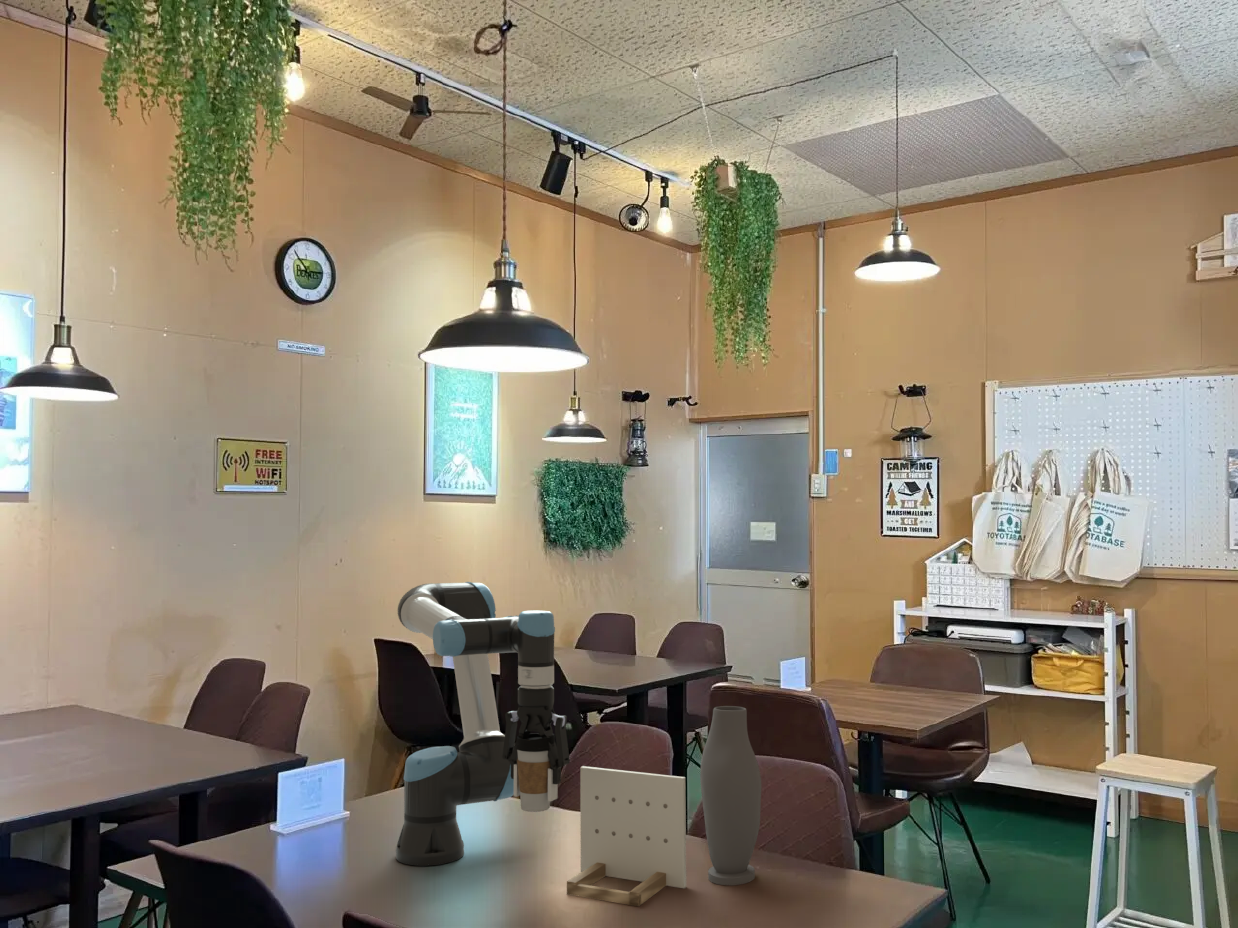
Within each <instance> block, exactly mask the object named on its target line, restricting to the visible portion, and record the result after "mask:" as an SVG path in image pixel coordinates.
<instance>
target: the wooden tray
mask: <svg viewBox="0 0 1238 928" xmlns="http://www.w3.org/2000/svg"><path fill="white" fill-rule="evenodd" d="M604 877H607V876H606V864H604V863H595V864H594V865H592V866H591V867H589V868H587V869H586V870H584V871H583V872H581V871H580V873H578V874H576V875H574V876H573V877H571V878H570V879H568V880H566V895H571V896H576V897H581V898H587V899H594V900H600V901H605V902H612V903H618V904H621V905H622V904H623V905H628V906H634V907H641V905H643V904H644V903H645V902H647V901H648V900H649V899H651V897H653V896H654V895H655V894H657V893H658V892H660V891H661V890H662V889H663V888H665V887H667V886H666V873H662V872H656V873H655V874H653V875H652V876H650V877H649V878H648V879H646V880H645V881H643V882H640V884H638V885H637V886H634V888H633V889H631V890H629V891H625V890H621V889H620V890H619V889H614V888H607V887H603V886H596V885H594V884H595V883H597V882H599V881H601V879H604Z"/></svg>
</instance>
